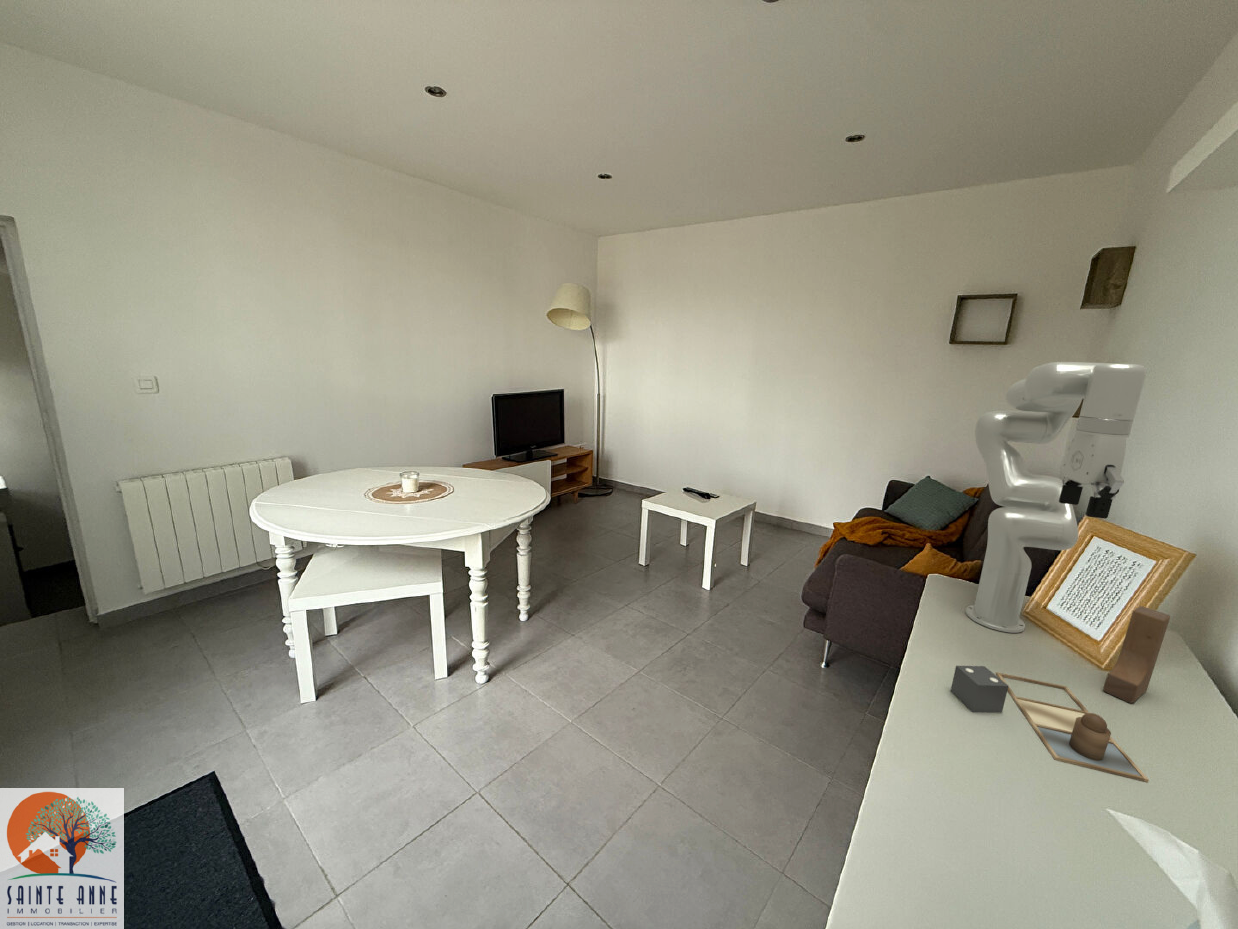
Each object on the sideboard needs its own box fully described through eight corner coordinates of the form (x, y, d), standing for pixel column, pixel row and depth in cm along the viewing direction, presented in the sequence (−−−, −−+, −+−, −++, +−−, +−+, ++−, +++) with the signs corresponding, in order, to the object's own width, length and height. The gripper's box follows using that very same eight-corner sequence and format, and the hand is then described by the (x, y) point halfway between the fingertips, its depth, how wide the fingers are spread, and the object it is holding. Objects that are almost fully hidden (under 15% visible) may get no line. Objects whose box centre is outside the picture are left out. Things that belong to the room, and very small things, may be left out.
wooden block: (1131, 705, 96) (1157, 625, 92) (1102, 691, 100) (1124, 614, 96) (1146, 691, 100) (1171, 615, 97) (1117, 679, 104) (1140, 605, 100)
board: (995, 674, 104) (996, 672, 104) (1065, 688, 100) (1066, 686, 100) (1054, 759, 82) (1055, 757, 81) (1147, 782, 78) (1148, 780, 78)
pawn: (1063, 737, 86) (1073, 703, 85) (1093, 744, 85) (1104, 710, 83) (1077, 756, 82) (1088, 721, 81) (1109, 763, 81) (1120, 728, 79)
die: (950, 691, 98) (956, 665, 97) (978, 691, 98) (984, 665, 97) (972, 712, 92) (978, 684, 91) (1001, 712, 92) (1008, 685, 91)
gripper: (1056, 421, 102) (1038, 497, 106) (1106, 431, 86) (1083, 520, 90) (1100, 424, 100) (1079, 501, 103) (1160, 434, 84) (1133, 526, 87)
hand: (1081, 510), depth 97 cm, fingers open, 9 cm apart
